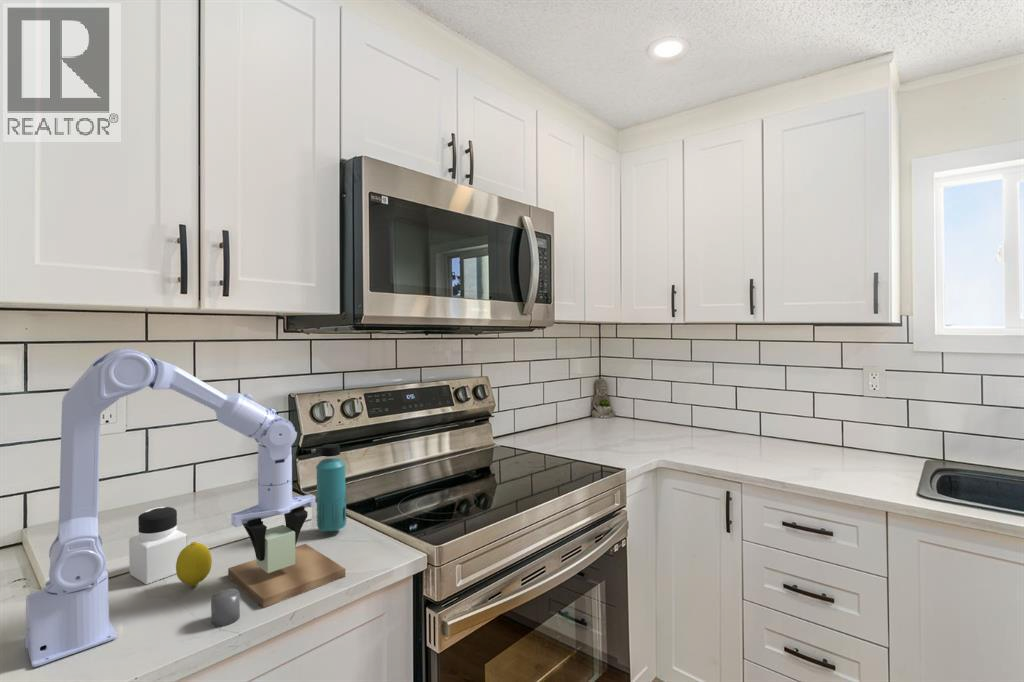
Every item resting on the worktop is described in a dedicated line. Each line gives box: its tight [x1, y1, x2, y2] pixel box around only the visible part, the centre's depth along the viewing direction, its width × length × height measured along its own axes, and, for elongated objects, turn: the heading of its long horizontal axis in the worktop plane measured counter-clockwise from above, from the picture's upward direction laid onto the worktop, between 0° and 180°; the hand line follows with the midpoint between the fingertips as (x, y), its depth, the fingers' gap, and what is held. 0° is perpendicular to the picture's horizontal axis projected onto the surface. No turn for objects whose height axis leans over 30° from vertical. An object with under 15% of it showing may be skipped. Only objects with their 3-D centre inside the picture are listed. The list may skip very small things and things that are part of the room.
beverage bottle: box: [315, 443, 348, 532], centre depth 119 cm, size 6×7×20 cm
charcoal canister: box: [210, 588, 241, 628], centre depth 84 cm, size 4×4×4 cm
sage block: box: [255, 524, 295, 573], centre depth 97 cm, size 5×5×6 cm
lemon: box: [176, 541, 213, 587], centre depth 95 cm, size 6×6×8 cm
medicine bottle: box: [128, 506, 188, 585], centre depth 100 cm, size 7×7×12 cm
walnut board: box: [227, 543, 346, 609], centre depth 99 cm, size 15×16×2 cm
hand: (275, 554), depth 97 cm, fingers closed on sage block, 5 cm apart
